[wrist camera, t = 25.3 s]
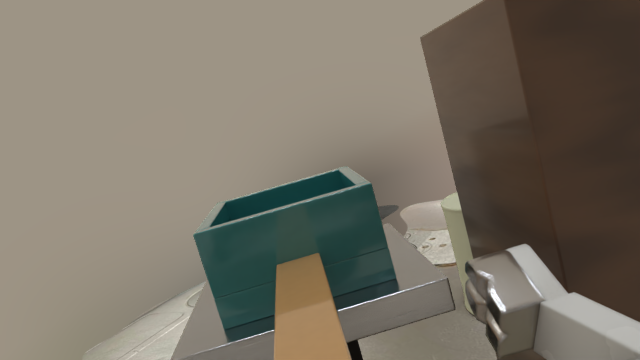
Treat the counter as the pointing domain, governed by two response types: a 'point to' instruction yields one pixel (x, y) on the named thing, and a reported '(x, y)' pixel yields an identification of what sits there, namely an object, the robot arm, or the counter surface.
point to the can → (458, 237)
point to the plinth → (547, 136)
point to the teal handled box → (296, 259)
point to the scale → (353, 308)
